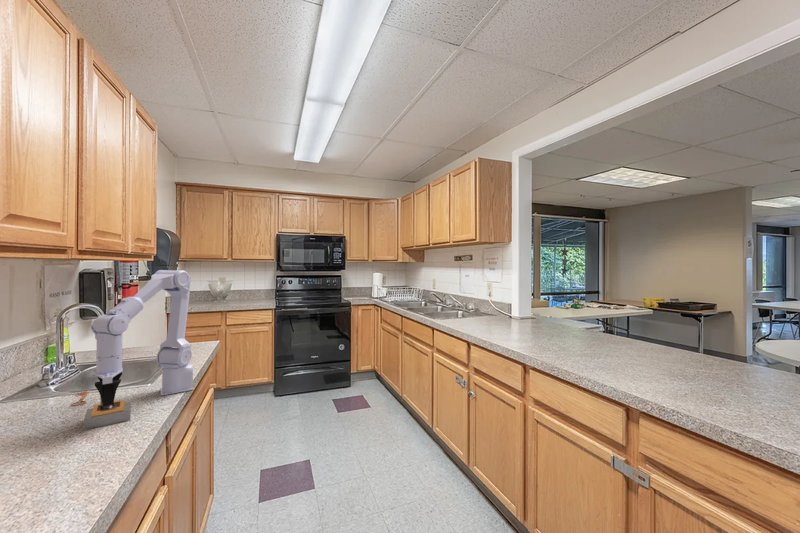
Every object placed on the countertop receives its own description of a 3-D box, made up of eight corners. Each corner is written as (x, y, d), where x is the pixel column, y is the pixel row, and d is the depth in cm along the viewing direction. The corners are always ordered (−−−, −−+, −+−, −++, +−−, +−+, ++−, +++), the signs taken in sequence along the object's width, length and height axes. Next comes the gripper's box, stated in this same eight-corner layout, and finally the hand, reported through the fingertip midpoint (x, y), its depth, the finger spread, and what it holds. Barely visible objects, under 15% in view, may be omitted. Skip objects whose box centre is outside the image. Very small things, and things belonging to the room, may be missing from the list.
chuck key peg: (114, 406, 99) (115, 387, 99) (114, 409, 97) (114, 390, 97) (99, 409, 97) (99, 390, 97) (98, 413, 95) (99, 393, 95)
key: (73, 395, 116) (60, 410, 104) (73, 392, 116) (60, 407, 104) (95, 390, 120) (85, 404, 107) (95, 388, 120) (85, 402, 107)
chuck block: (130, 410, 103) (131, 397, 103) (130, 420, 97) (130, 406, 97) (87, 419, 97) (87, 405, 97) (83, 430, 91) (83, 415, 91)
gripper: (93, 352, 100) (93, 396, 100) (87, 363, 89) (87, 413, 89) (124, 348, 105) (123, 391, 105) (121, 359, 93) (121, 407, 93)
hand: (108, 401), depth 97 cm, fingers open, 6 cm apart
